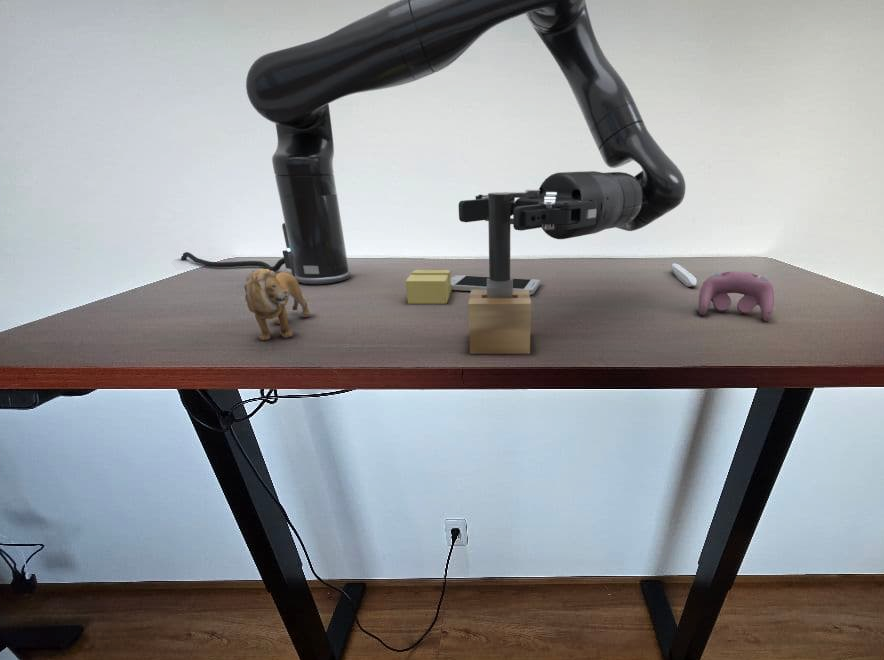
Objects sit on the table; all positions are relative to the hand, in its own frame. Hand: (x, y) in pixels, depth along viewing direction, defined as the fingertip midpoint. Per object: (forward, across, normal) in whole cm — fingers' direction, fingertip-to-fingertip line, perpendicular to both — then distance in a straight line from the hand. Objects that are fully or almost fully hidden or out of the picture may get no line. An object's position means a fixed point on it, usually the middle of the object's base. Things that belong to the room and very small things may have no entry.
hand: (486, 215), depth 50 cm
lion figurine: (+14, -24, +15) cm, 31 cm away
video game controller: (-34, +15, +15) cm, 40 cm away
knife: (-2, 0, +15) cm, 15 cm away
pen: (-49, 0, +15) cm, 51 cm away
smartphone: (-20, -20, +15) cm, 32 cm away
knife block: (-2, 0, +15) cm, 15 cm away
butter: (-10, -24, +15) cm, 30 cm away
